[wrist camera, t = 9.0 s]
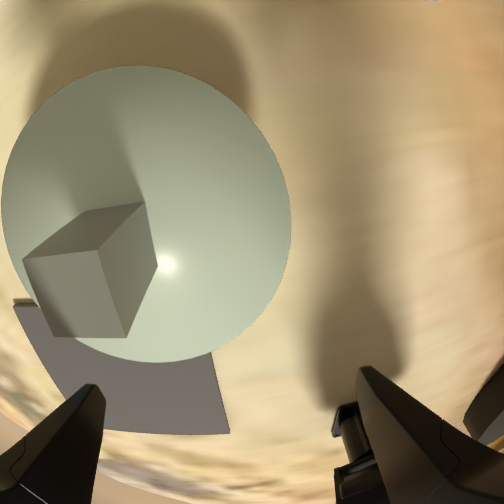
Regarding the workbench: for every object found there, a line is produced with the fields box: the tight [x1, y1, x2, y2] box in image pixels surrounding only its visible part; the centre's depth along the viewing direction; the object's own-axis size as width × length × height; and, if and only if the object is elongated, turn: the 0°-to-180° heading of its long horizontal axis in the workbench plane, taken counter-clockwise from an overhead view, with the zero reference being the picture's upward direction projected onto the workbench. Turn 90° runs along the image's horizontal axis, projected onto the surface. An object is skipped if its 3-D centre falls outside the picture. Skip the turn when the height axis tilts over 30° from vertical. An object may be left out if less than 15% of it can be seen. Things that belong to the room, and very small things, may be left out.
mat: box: [13, 304, 230, 435], centre depth 24 cm, size 18×18×1 cm
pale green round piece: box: [1, 65, 291, 363], centre depth 10 cm, size 15×15×6 cm
